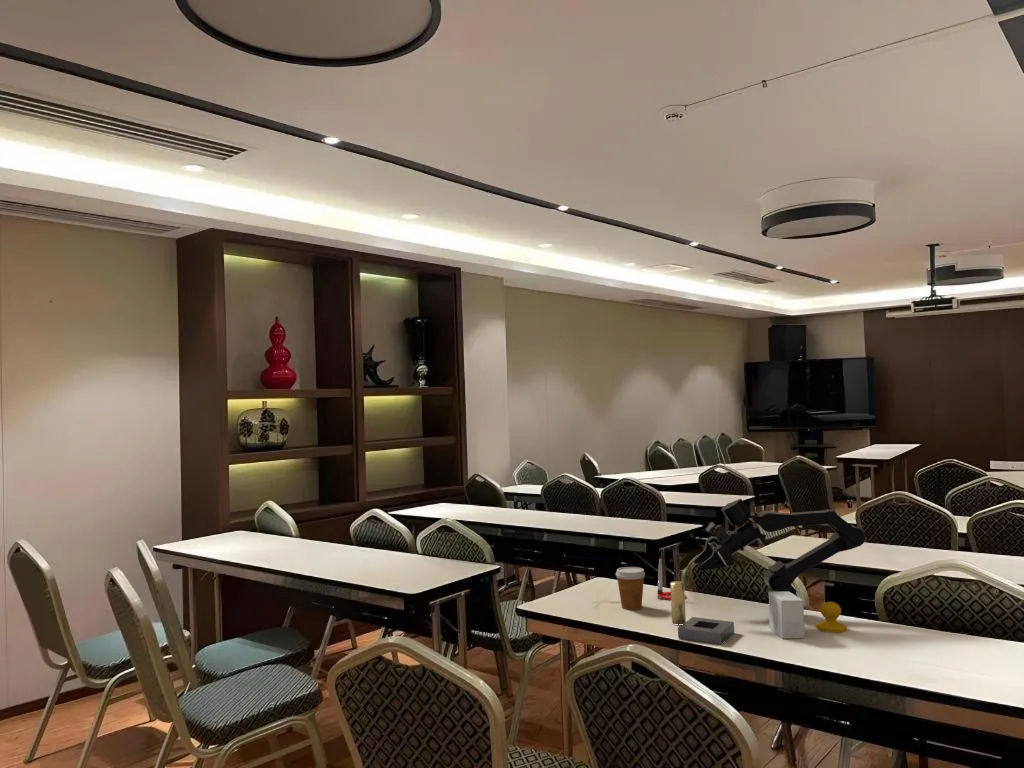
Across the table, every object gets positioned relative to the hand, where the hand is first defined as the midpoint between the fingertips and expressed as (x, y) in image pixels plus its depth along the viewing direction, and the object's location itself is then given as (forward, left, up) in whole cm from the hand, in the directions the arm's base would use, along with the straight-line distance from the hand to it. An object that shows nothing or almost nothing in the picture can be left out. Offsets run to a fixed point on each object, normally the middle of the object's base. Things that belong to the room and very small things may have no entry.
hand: (696, 565), depth 232 cm
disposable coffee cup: (+23, -1, -16) cm, 28 cm away
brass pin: (+3, +10, -15) cm, 19 cm away
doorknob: (-37, -3, -16) cm, 41 cm away
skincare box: (-27, +6, -16) cm, 32 cm away
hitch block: (-8, +18, -15) cm, 25 cm away
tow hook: (+16, -18, -16) cm, 29 cm away
